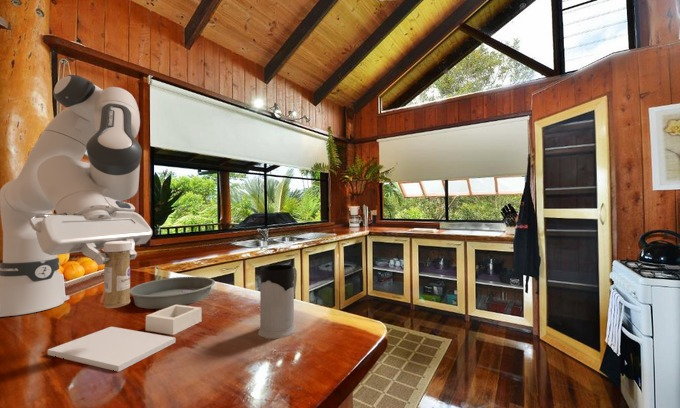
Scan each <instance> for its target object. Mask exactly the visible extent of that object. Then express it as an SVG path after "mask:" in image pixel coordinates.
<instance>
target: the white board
mask: <svg viewBox="0 0 680 408" xmlns="http://www.w3.org/2000/svg"><path fill="white" fill-rule="evenodd" d="M173 344H176V337H174V336H173V337H172V336H168V335H161V334H156V333H150V332H146V331H145V332H144V331H138V330H133V329H128V328H122V327H116V326H109V327H106V328H104V329H101V330H98V331H95V332H92V333H89V334H87V335H85V336H82V337H79V338H75V339H73V340H71V341H68V342H65V343H63V344H60V345H56V346H55V347H52V348H49V349H47V356H52V357H55V356H56V357H57V358H60V359H63V358H64V360H68V361H72V362H76V363H81V364H85V365H89V366H92V367H97V368H102V369H104V370H110V371H113V370H114V371H115V372H119V373H120V372H121V371H123V370H125V369H127V368H128V367H130V366H132V365H134V364H137V363H138V362H140V361H142V360H144V359H146V358H148V357H150V356H152V355H154V354H155V353H157V352H159V351H161V350H164V349H165V348H167V347H169V346H172V345H173Z"/></svg>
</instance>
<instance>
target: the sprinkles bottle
mask: <svg viewBox="0 0 680 408" xmlns="http://www.w3.org/2000/svg"><path fill="white" fill-rule="evenodd" d="M129 250H131V242H130V241H112V242H106V243H104V249H103V253H107V254H108V256H109V258H110V260H109V261H108V263H107V264H104V268H103V269H104V271H103V273H104V275H103V279H104V280H103V292H104V303H103V307H104V308H107V309H114V308H115V309H117V308H121V307H124V306H126V305H129V304H130V303H131V298H130V297H131V295H130V289H131V267H130V265H131V263H130V261H131V260H130V251H129Z"/></svg>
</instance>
